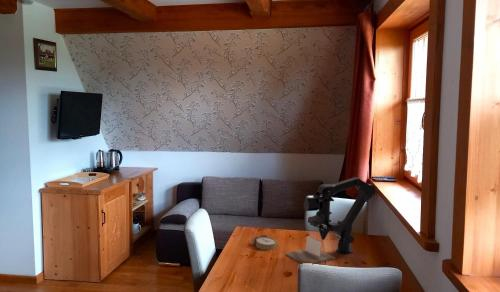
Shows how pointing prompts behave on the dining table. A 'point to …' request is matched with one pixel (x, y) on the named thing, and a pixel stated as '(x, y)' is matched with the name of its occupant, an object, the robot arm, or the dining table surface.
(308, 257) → the board
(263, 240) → the alarm clock
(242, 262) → the dining table surface
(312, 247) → the tile
